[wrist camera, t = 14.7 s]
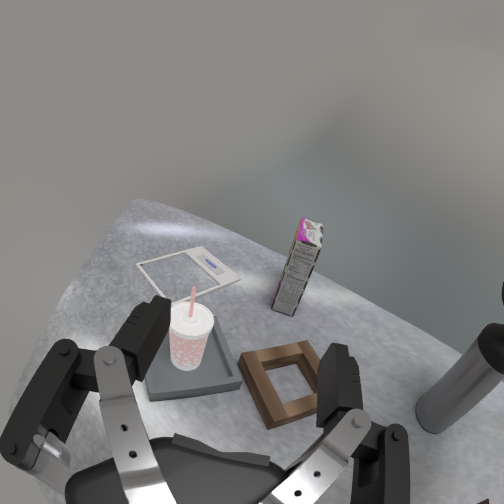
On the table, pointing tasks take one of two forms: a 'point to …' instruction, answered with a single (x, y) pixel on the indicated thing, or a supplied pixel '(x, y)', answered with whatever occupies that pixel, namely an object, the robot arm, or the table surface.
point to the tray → (194, 371)
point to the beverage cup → (189, 333)
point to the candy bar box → (298, 266)
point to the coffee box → (484, 502)
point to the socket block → (263, 389)
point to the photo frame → (206, 263)
